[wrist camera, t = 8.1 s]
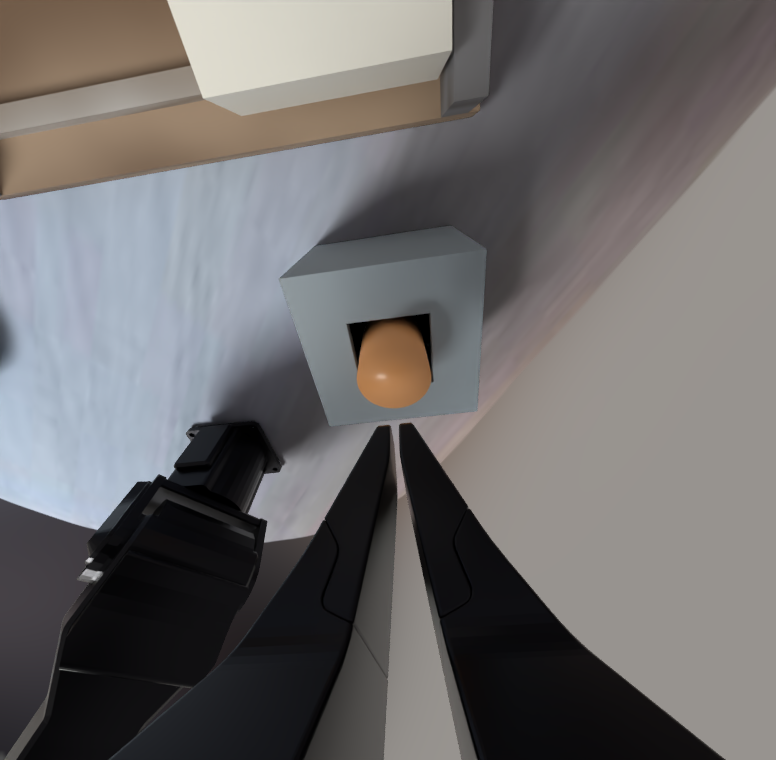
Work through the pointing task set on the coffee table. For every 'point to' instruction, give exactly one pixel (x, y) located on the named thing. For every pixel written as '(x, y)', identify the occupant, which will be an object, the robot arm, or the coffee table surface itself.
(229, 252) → the coffee table surface
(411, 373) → the orange-brown egg-shaped piece
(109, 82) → the rail
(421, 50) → the carriage
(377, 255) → the box
